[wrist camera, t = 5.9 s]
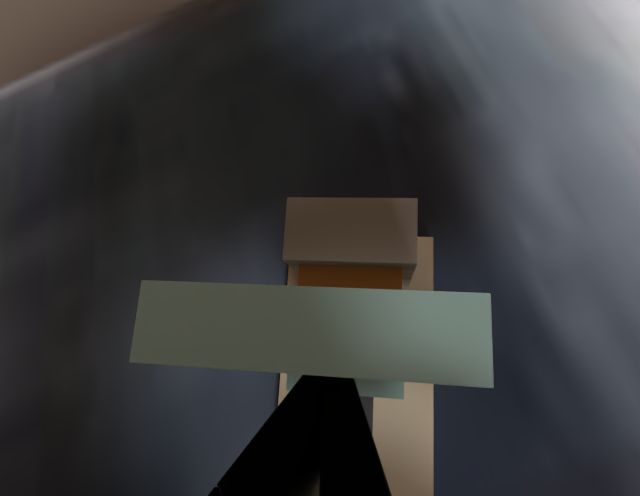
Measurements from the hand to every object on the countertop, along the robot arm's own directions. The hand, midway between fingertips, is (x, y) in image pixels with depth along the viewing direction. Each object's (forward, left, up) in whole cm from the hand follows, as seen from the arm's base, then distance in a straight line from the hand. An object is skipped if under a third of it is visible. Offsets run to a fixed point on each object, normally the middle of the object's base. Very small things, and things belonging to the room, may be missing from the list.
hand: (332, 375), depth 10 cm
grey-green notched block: (+1, 0, -6) cm, 6 cm away
